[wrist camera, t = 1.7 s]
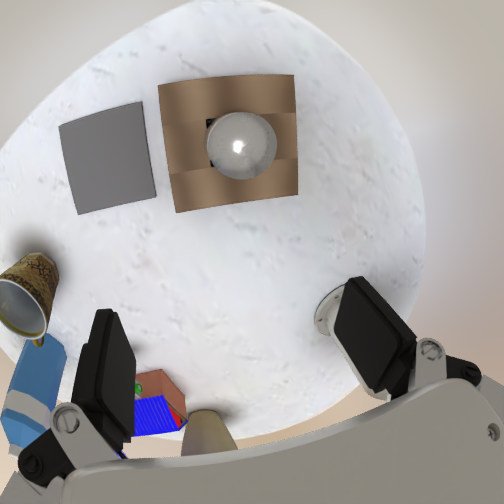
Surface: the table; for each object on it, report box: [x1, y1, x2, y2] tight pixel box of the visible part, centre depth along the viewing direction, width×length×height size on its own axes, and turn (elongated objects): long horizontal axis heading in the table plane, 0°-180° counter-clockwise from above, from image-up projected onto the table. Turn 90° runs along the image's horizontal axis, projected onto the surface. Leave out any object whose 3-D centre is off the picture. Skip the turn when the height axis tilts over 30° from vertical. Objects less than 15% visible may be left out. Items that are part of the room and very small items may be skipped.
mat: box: [59, 102, 156, 215], centre depth 28 cm, size 11×12×1 cm
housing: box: [158, 75, 298, 213], centre depth 28 cm, size 14×14×5 cm
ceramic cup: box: [0, 252, 59, 347], centre depth 28 cm, size 13×10×10 cm
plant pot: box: [181, 410, 238, 456], centre depth 52 cm, size 15×15×16 cm
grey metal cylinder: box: [204, 112, 277, 179], centre depth 26 cm, size 6×6×10 cm
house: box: [131, 369, 189, 437], centre depth 44 cm, size 12×20×12 cm, turn 103°
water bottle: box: [0, 333, 67, 460], centre depth 28 cm, size 9×9×25 cm
